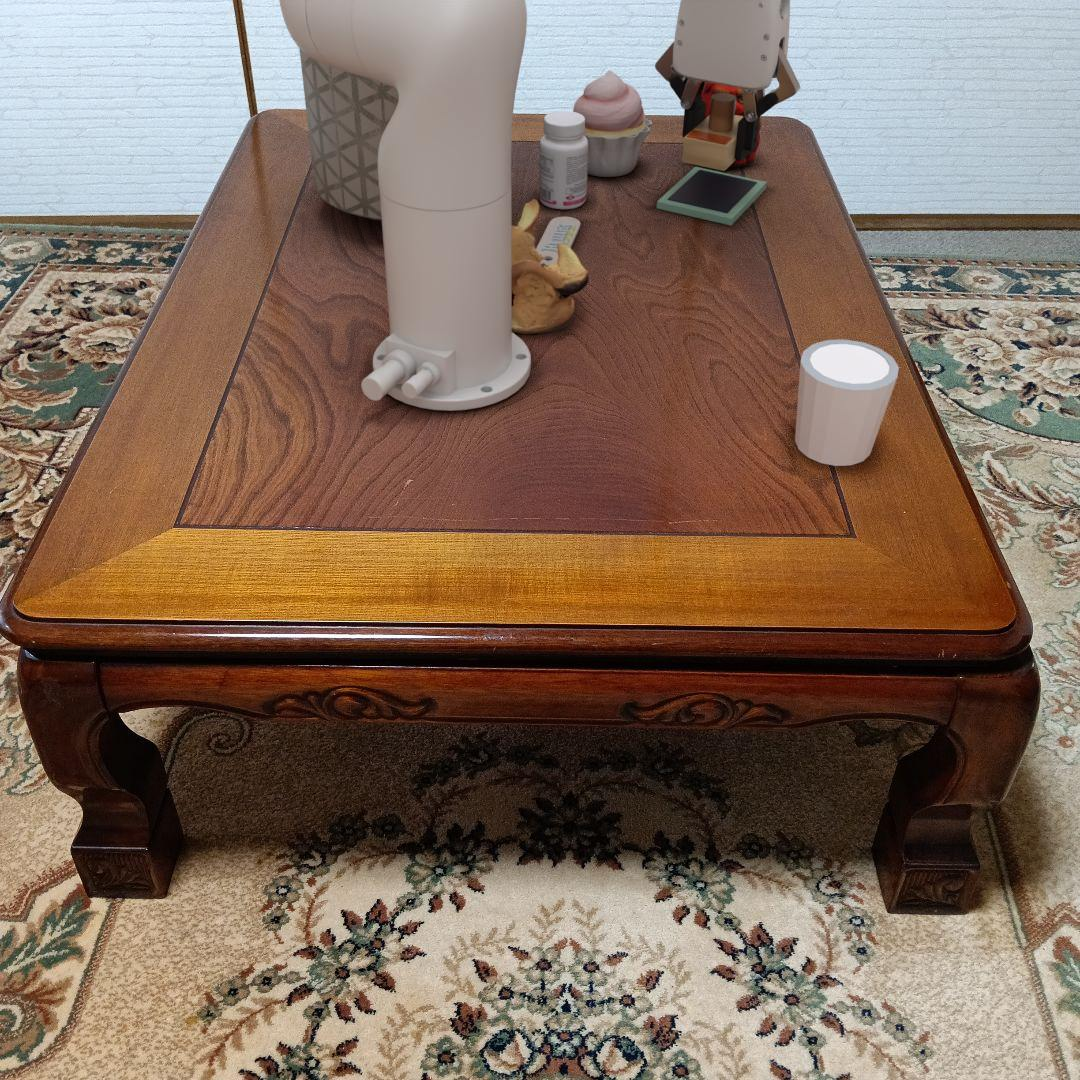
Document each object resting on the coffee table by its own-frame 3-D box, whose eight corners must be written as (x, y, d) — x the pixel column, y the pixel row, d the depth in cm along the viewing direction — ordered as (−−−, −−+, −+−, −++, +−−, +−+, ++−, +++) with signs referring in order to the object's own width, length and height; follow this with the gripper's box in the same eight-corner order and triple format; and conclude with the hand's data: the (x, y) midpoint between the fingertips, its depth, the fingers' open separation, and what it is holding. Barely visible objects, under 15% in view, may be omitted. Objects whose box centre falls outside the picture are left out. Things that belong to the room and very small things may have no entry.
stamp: (711, 134, 123) (717, 80, 120) (753, 143, 122) (760, 88, 118) (681, 162, 118) (686, 106, 114) (724, 171, 116) (730, 115, 113)
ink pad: (731, 226, 118) (732, 217, 117) (656, 208, 121) (656, 200, 120) (766, 189, 125) (767, 180, 124) (694, 173, 127) (695, 165, 127)
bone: (443, 321, 103) (439, 229, 97) (495, 273, 110) (494, 185, 104) (571, 354, 99) (574, 260, 94) (617, 302, 106) (623, 212, 100)
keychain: (561, 263, 110) (528, 260, 110) (560, 269, 110) (528, 266, 110) (583, 215, 117) (553, 212, 118) (583, 221, 118) (553, 217, 118)
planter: (422, 271, 110) (411, 68, 98) (276, 214, 118) (251, 21, 107) (547, 202, 121) (551, 13, 110) (406, 155, 130) (396, -25, 118)
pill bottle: (587, 192, 123) (591, 110, 118) (584, 212, 120) (587, 128, 114) (541, 189, 124) (542, 107, 118) (536, 209, 120) (537, 125, 115)
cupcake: (643, 148, 132) (650, 55, 126) (654, 183, 125) (662, 86, 119) (558, 149, 132) (561, 55, 126) (565, 184, 125) (568, 87, 118)
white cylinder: (811, 477, 86) (828, 395, 82) (771, 425, 91) (784, 344, 87) (897, 462, 88) (918, 381, 83) (852, 412, 93) (870, 332, 88)
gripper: (843, -44, 107) (812, 154, 119) (669, -69, 113) (655, 122, 125) (817, -24, 102) (786, 182, 114) (636, -51, 108) (624, 147, 120)
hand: (718, 149), depth 119 cm, fingers closed on stamp, 4 cm apart
